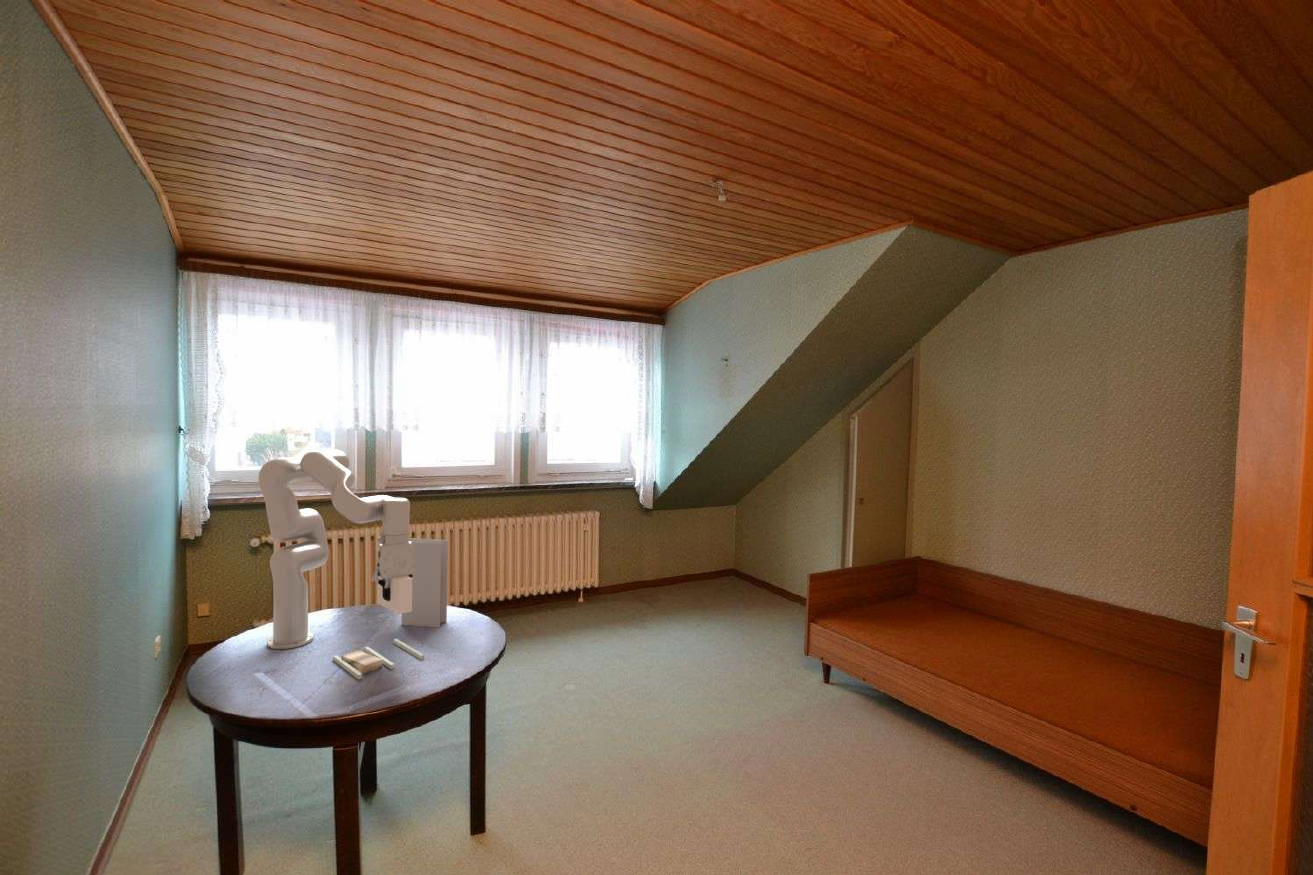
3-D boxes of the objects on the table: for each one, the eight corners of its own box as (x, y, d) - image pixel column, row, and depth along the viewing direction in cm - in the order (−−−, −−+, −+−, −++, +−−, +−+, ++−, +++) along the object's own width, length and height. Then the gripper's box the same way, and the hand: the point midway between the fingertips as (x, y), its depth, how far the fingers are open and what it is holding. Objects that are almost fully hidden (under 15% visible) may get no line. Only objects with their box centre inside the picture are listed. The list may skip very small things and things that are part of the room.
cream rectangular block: (377, 603, 176) (378, 571, 176) (390, 600, 179) (391, 568, 179) (398, 614, 167) (399, 580, 167) (411, 611, 170) (412, 578, 170)
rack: (332, 664, 169) (333, 656, 169) (396, 646, 184) (396, 638, 183) (358, 683, 157) (358, 675, 157) (424, 662, 172) (424, 654, 172)
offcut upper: (341, 662, 167) (341, 655, 167) (357, 656, 172) (357, 649, 172) (365, 672, 161) (366, 665, 161) (382, 666, 166) (382, 659, 166)
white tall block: (446, 622, 206) (448, 540, 205) (439, 627, 201) (441, 543, 200) (409, 619, 208) (410, 538, 207) (401, 624, 202) (402, 541, 201)
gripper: (372, 544, 164) (371, 607, 165) (428, 537, 177) (426, 595, 177) (361, 540, 169) (360, 601, 169) (416, 533, 182) (415, 589, 182)
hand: (394, 597), depth 173 cm, fingers closed on cream rectangular block, 4 cm apart
